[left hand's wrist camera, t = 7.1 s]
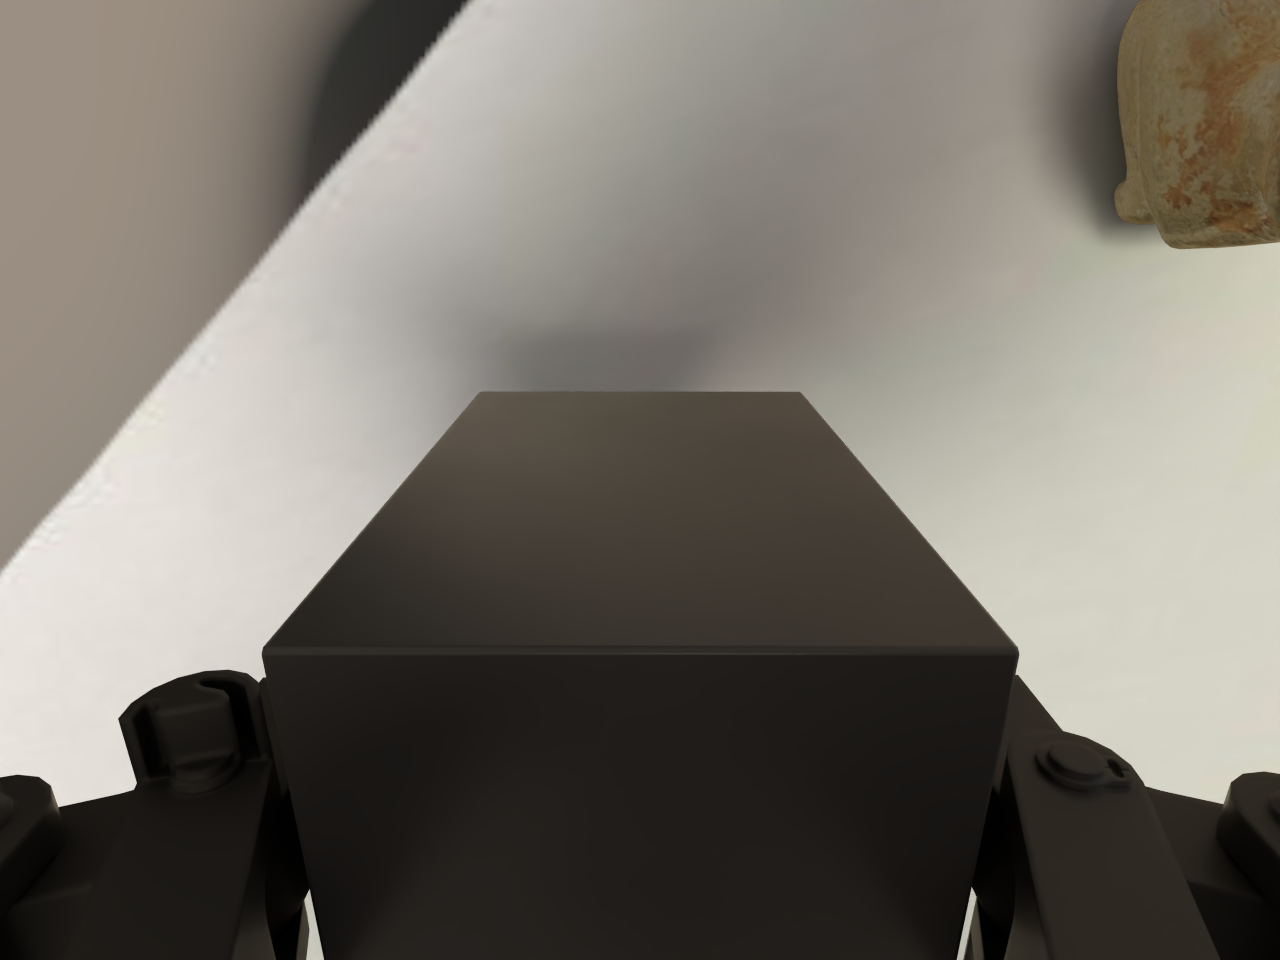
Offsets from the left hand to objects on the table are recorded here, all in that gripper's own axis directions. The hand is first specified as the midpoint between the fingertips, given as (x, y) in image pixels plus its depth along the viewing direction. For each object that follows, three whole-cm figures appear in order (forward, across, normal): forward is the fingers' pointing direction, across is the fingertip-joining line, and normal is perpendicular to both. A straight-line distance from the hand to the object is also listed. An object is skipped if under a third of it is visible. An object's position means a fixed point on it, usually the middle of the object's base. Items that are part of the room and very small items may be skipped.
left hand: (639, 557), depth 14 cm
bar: (0, 0, -9) cm, 9 cm away
